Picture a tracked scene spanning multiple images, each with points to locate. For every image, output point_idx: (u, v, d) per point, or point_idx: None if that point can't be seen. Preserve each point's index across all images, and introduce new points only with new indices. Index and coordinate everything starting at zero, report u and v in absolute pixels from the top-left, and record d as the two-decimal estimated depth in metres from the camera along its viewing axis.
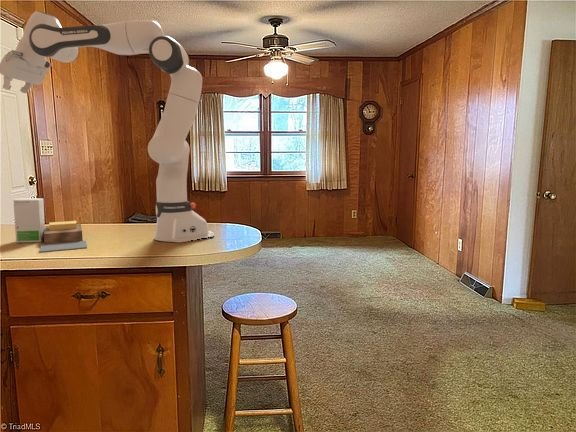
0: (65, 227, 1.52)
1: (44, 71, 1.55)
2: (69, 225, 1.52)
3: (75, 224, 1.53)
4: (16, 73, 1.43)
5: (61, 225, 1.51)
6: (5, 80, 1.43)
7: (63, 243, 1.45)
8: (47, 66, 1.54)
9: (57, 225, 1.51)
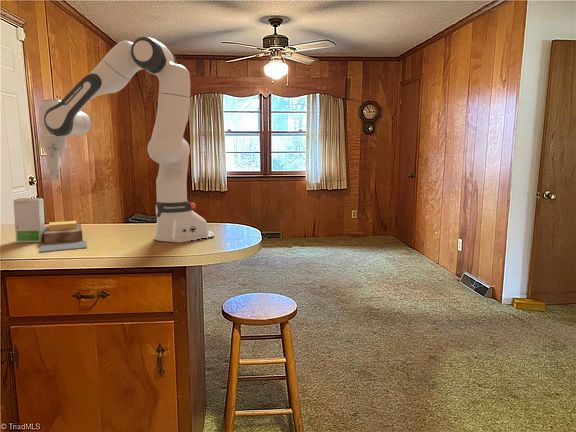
0: (65, 227, 1.52)
1: None
2: (69, 225, 1.52)
3: (75, 224, 1.53)
4: None
5: (61, 225, 1.51)
6: (52, 173, 1.52)
7: (63, 243, 1.45)
8: None
9: (57, 225, 1.51)
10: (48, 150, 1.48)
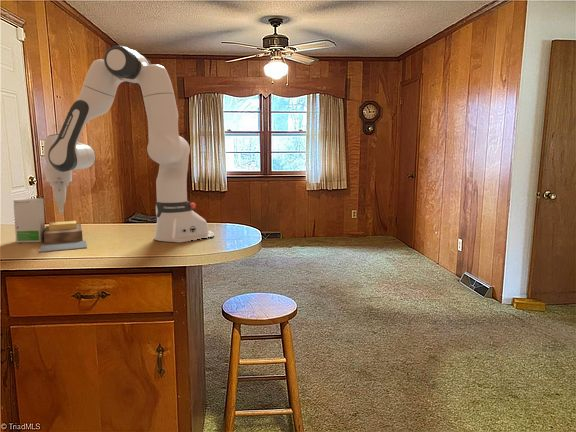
0: (65, 227, 1.52)
1: None
2: (69, 225, 1.52)
3: (75, 224, 1.53)
4: (65, 196, 1.55)
5: (61, 225, 1.51)
6: (59, 206, 1.58)
7: (63, 243, 1.45)
8: None
9: (57, 225, 1.51)
10: (55, 185, 1.50)
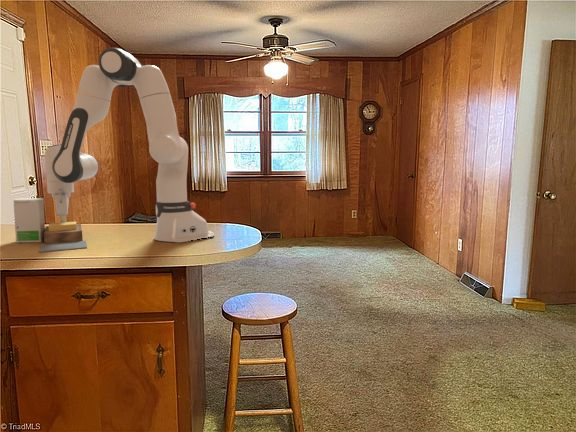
0: (65, 228, 1.50)
1: None
2: (69, 226, 1.51)
3: (75, 225, 1.52)
4: (67, 208, 1.51)
5: (61, 226, 1.50)
6: (62, 217, 1.54)
7: (63, 243, 1.45)
8: None
9: (57, 226, 1.49)
10: (57, 197, 1.46)
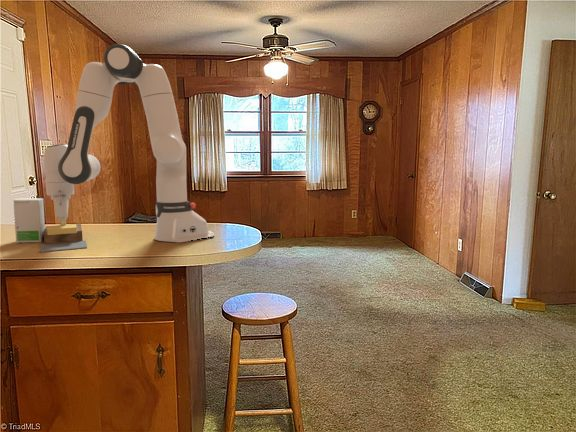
0: (64, 231, 1.44)
1: None
2: (68, 229, 1.44)
3: (75, 228, 1.45)
4: (67, 210, 1.45)
5: (60, 229, 1.43)
6: (61, 220, 1.48)
7: (63, 243, 1.45)
8: None
9: (56, 229, 1.43)
10: (56, 199, 1.40)
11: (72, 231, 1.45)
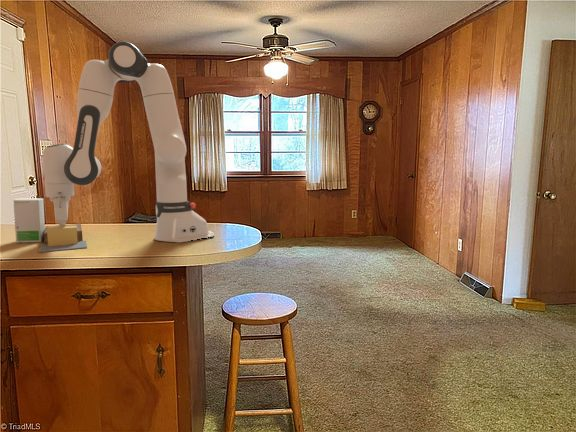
0: None
1: None
2: None
3: None
4: (67, 213, 1.40)
5: None
6: (61, 223, 1.42)
7: None
8: None
9: None
10: (56, 201, 1.35)
11: None
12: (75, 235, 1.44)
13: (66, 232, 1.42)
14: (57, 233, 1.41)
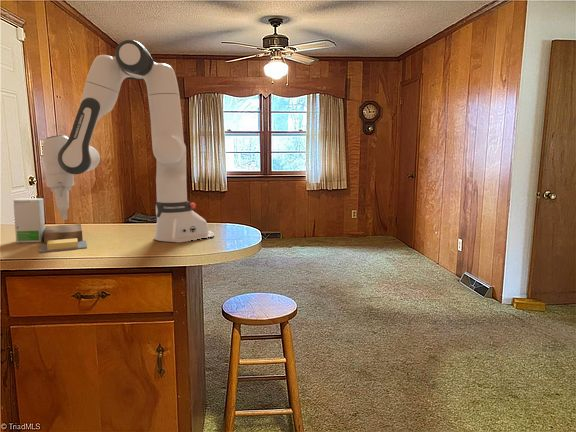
0: None
1: None
2: None
3: None
4: None
5: None
6: (62, 212, 1.47)
7: None
8: None
9: None
10: (56, 190, 1.40)
11: None
12: None
13: None
14: None
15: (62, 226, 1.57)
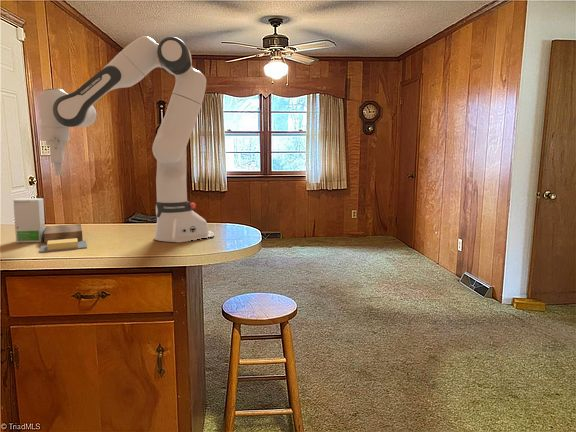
0: None
1: (63, 145, 1.54)
2: None
3: None
4: None
5: None
6: (57, 167, 1.46)
7: None
8: None
9: None
10: (51, 142, 1.38)
11: None
12: None
13: None
14: None
15: (62, 226, 1.57)
